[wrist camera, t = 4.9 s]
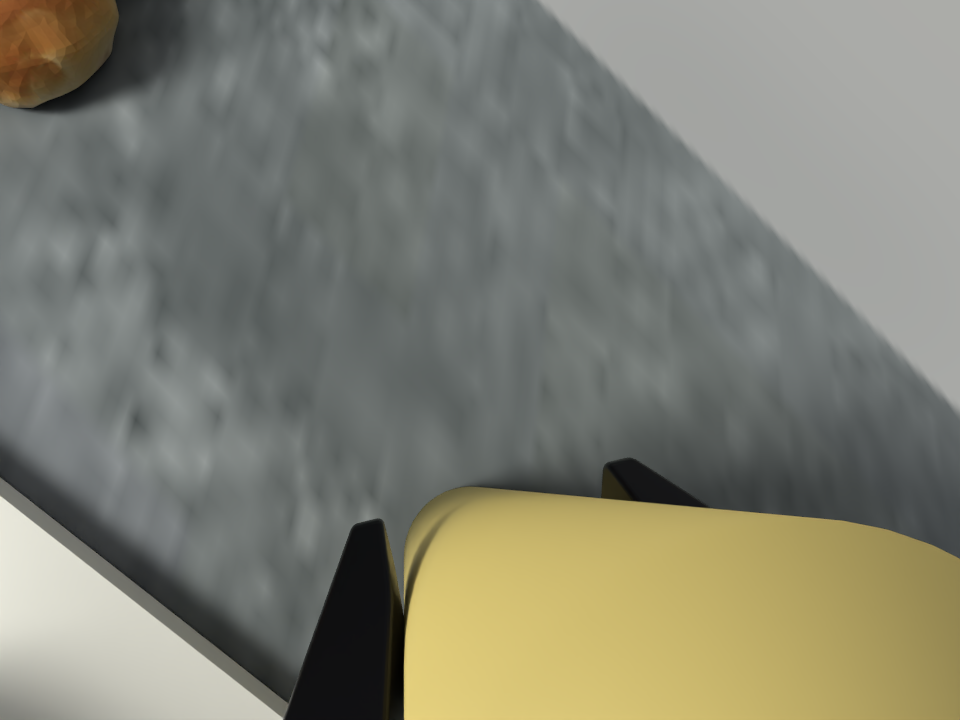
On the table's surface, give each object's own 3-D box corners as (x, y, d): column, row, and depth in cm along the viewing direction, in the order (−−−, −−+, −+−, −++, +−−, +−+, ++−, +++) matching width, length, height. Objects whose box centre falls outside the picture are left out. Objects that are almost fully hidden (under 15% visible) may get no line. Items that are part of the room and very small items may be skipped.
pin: (560, 539, 15) (1324, 827, 3) (483, 652, 15) (1022, 1818, 2) (458, 460, 15) (716, 364, 3) (376, 568, 15) (196, 1152, 2)
